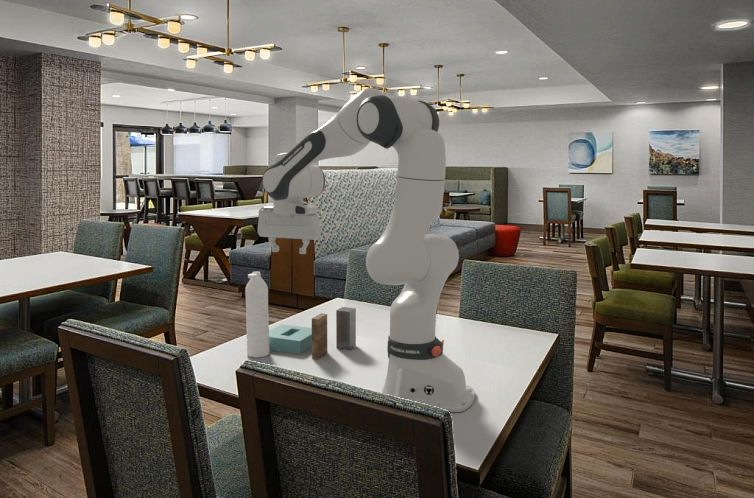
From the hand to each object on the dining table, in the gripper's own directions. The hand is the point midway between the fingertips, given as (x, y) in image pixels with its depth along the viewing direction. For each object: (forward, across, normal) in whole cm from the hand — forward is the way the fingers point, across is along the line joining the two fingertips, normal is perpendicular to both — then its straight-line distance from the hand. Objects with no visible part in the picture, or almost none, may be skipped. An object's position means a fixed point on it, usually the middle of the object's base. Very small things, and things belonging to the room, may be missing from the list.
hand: (289, 252), depth 164 cm
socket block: (+29, 0, 0) cm, 29 cm away
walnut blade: (+29, +13, -6) cm, 32 cm away
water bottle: (+29, -4, -12) cm, 32 cm away
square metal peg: (+29, +17, +4) cm, 34 cm away
